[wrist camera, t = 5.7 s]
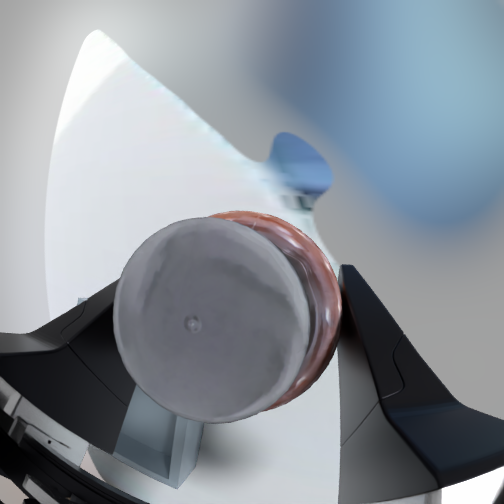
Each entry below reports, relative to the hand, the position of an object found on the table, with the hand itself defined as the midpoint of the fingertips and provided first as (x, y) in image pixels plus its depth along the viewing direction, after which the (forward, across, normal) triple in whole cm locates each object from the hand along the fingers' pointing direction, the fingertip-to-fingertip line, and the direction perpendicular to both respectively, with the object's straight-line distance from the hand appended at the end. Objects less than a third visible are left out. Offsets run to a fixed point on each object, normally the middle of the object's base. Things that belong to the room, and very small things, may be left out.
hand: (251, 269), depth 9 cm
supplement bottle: (+4, 0, +6) cm, 7 cm away
